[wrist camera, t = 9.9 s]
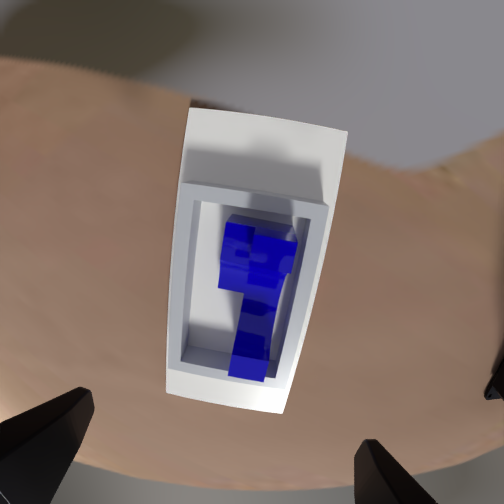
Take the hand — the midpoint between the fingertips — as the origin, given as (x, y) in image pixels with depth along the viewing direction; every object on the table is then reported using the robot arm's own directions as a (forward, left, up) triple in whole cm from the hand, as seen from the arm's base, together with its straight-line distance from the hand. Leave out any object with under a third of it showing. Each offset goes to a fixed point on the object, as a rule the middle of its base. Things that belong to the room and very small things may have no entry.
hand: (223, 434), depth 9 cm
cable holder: (0, -1, -12) cm, 12 cm away
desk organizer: (+1, 0, -12) cm, 12 cm away
